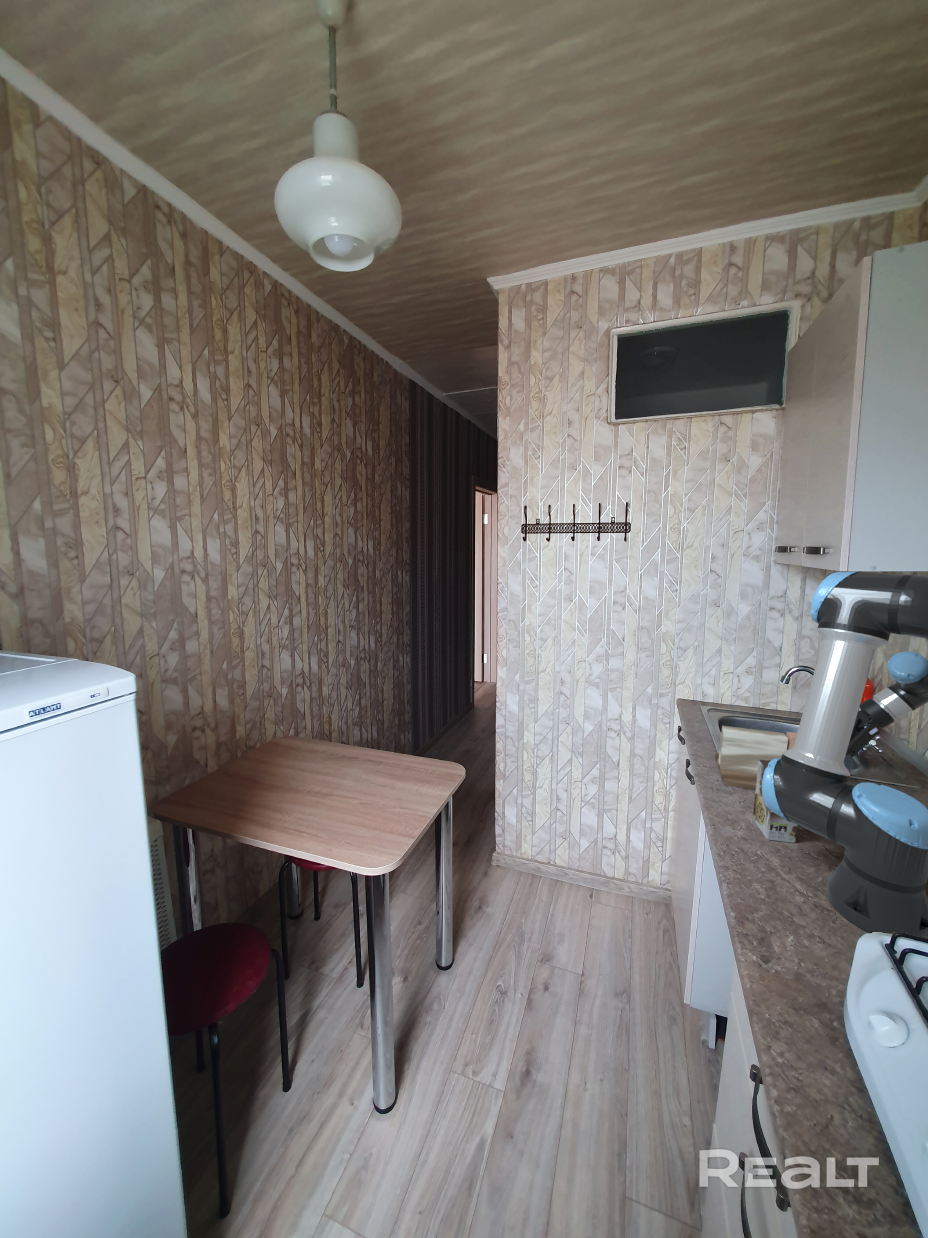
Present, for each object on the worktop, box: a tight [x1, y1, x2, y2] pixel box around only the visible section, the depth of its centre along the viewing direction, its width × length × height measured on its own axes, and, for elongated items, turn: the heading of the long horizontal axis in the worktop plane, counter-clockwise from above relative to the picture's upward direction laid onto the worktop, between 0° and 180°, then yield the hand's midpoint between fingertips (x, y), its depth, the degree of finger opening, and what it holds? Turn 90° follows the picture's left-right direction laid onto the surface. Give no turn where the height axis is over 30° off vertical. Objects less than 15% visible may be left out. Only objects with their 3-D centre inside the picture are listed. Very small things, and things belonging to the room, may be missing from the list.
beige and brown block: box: [714, 725, 788, 791], centre depth 137 cm, size 18×26×14 cm
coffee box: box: [752, 760, 799, 844], centre depth 113 cm, size 9×6×16 cm
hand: (809, 752), depth 134 cm, fingers open, 13 cm apart
